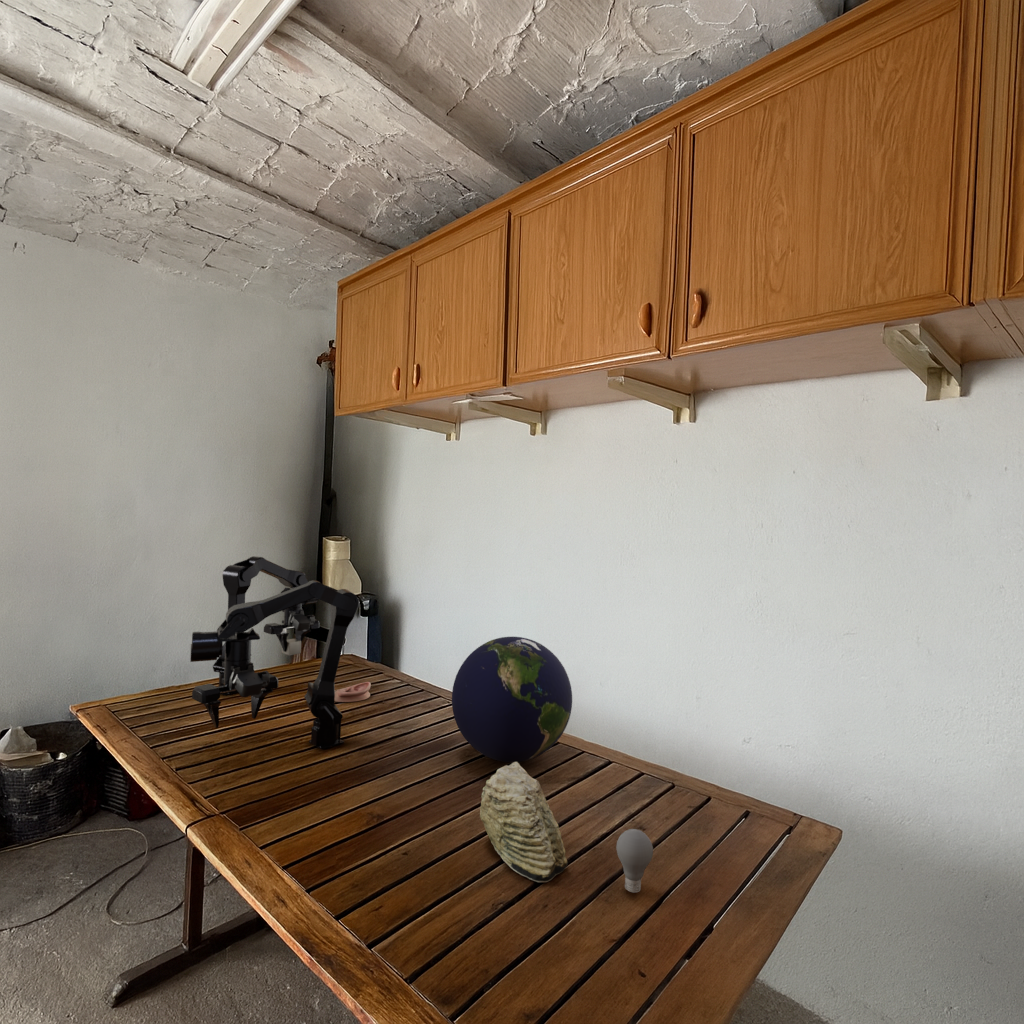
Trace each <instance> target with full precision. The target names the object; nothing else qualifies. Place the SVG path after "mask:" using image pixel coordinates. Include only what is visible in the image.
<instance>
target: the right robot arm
mask: <svg viewBox="0 0 1024 1024" xmlns="http://www.w3.org/2000/svg"><path fill="white" fill-rule="evenodd" d="M290 589H291V590H288V591H285V592H283V593H281V592H279V593H278V594H275V595H273V596H269V597H267V598H265V599H262V600H261V599H260V600H255V601H248V602H247V601H246V602H245V603H242V604H238V605H234V606H232V607H230V608H229V609H228V608H227V611H226V613H225V619H224V620H223V622H222V623H221V624H220V625H219V626H218V627H217V628H216V631H193V632H192V633H191V643H190V655H189V656H190V663H195V662H208V661H210V662H211V661H217V660H218V658H219V657H220V656H221V655H222V648H223V645H224V643H225V662H222V666H223V667H225V669H224V679H222V682H221V683H223V684H224V686H219V685H218V686H216V685H214V684H212V683H206V684H201V685H196V686H195V687H194V688H193V689H192V691H191V699H192V700H194V701H195V702H198V703H200V704H202V705H204V707H205V709H206V710H207V713H208V715H209V717H210V719H211V722H212V724H213V726H214V728H215V729H218V728H219V727H220V726H219V724H220V705H221V703H222V701H220V700H219V699H220V698H221V695H222V694H226V693H231V692H236V691H238V693H239V696H240V697H242V698H248V697H250V702H251V703H250V713H251V718H252V719H253V720H255V719H256V718H257V716H258V714H259V711H260V708H261V706H262V704H263V702H264V700H265V698H266V697H267V696H268V695H269V694H271V693H273V692H274V690H275V689H278V688H279V679H278V677H277V676H276V675H273V674H271V673H270V672H269V671H268V670H264V671H257V672H256V671H255V669H254V668H255V666H254V663H253V662H251V660H252V641H258V640H260V639H261V636H260V634H259V633H257V632H256V631H255V629H254V628H253V627H255V626H257V625H259V624H260V623H261V622H262V621H264V620H265V619H267V618H269V617H270V616H272V615H275V614H278V613H280V612H282V611H283V610H285V609H288V608H290V607H293V606H295V605H298V604H300V603H303V602H305V601H308V600H310V599H313V598H317V599H319V600H320V601H322V602H324V603H326V604H329V605H330V610H329V611H330V626H329V630H328V634H327V638H326V642H325V646H324V651H323V654H322V657H321V662H320V667H319V669H318V670H319V671H318V675H317V677H316V679H315V680H314V682H310V681H309V682H308V683H307V690H306V693H305V695H304V696H303V697H304V699H305V703H306V706H307V708H308V709H309V711H310V713H311V714H312V716H313V717H315V719H313V721H312V722H313V723H312V727H311V730H310V731H311V732H310V733H311V735H310V739H309V740H308V743H309V744H310V745H313V746H314V747H316V748H318V749H320V750H327V749H329V748H333V747H336V746H340V745H343V744H344V743H345V741H344V740H343V739H341V737H342V735H341V733H342V720H343V713H342V712H341V711H340V709H339V708H338V706H337V705H336V704H335V691H336V689H335V682H336V681H335V680H336V676H337V672H338V668H339V664H340V660H341V656H342V652H343V647H344V643H345V640H346V635H347V632H348V631H347V630H348V628H349V626H350V624H351V623H352V621H353V620H354V618H355V616H356V613H357V611H358V609H359V607H360V599H359V597H358V596H357V595H356V594H355V593H353V592H352V591H350V590H348V589H346V588H340V589H337V588H334V587H332V586H329V585H326V584H324V583H321V582H320V581H318V580H315V579H313V580H309V581H308V583H306V584H304V585H301V586H298V587H296V588H290ZM235 633H236V634H235ZM234 634H235V636H232V635H234ZM229 688H230V689H229Z"/></svg>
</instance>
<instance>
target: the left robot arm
mask: <svg viewBox="0 0 1024 1024" xmlns="http://www.w3.org/2000/svg"><path fill="white" fill-rule="evenodd" d="M260 573H264V574H266V575H268V576H270V577H273V578H275V579H276V580H278V582H279V583H280V584H281V585H282V586H284V588H283V590H281V591H280V593H283V592H285V591H288V590H291V589H293V588H296V587H298V586H301V585H304V584H306V583H308V582H309V581H308V579H307V577H306V573H305V572H304V571H299V570H294V569H287V568H285V567H284V566H281V565H278V564H276V563H274V562H272V561H270V560H268V559H266V558H265V557H263V556H251V557H248V558H247V559H244V560H242V561H238V562H235V563H234V564H229V565H228V566H226V567H225V568H224V569H223V570H222V582H223V586H224V589H225V590H226V592H227V599H228V600H227V610H228V609H229V608H230V607H232V606H234V605H238V604H242V603H246V594H247V592H248V591H249V589H250V587H251V583H252V579H254V578H255V577H257V576H258V575H259V574H260ZM319 600H320V599H317V598H313V599H310V600H308V601H305V602H303V603H300V604H298V605H295V606H293V607H290V608H288V609H285V610H283V611H281V612H282V613H283V619H282V620H281V624H280V623H277V622H271V623H266V624H265V625H264V626H263V633H266V634H269V635H275V636H276V638H277V640H278V641H279V644H280V646H281V649H282V648H283V651H284V652H286V649H287V640H288V637H289V635H290V633H288V632H287V631H288V630H293V629H295V630H294V632H295V639H297V640H300V641H301V644H302V643H303V640H304V638H305V636H306V635H307V634H308V633H310V632H311V631H312V630H315V629H320V621H319V620H318V619H316V616H315V615H314V614H309V615H305V610H304V609H303V608H302V607H303V606H304V605H310V604H316V603H317V602H318V601H319ZM235 634H236V633H235ZM235 634H234V635H232V636H235ZM222 662H225V642H223V648H222V655H221V656H220V657H218V658H217V660H215V662H214V664H213V665H212V669H213V672H214V673H218V687H219V686H224V684H223V683H221V682H222V679H224V669H225V667H223V666H222ZM229 689H230V688H229ZM238 693H239V692H238V691H236V692H231V693H226V694H221V695H222V696H230V695H233V694H238Z"/></svg>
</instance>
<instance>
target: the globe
mask: <svg viewBox="0 0 1024 1024" xmlns="http://www.w3.org/2000/svg"><path fill="white" fill-rule="evenodd" d="M568 675H569V674H568V673H567V671H566V669H565V667H564V665H563V663H562V662H561V661H560V659H559V658H558V657H557V656H556V655H555V654H554V652H553V651H551V650H550V649H549V648H547V647H546V646H545V645H543V644H542V643H539V642H538V641H536V640H533V639H531V638H527V637H522V636H502V637H497V638H494V639H491V640H488V641H487V642H484V643H483V644H481V645H479V646H478V647H476V648H475V649H474V650H473V651H471V653H470V654H469V655H468V656H467V657H466V658H465V660H464V661H463V662H462V664H461V665H460V667H459V669H458V671H457V672H456V676H455V679H454V681H453V686H452V691H451V707H452V712H453V714H452V715H453V717H454V721H455V723H456V726H457V728H458V730H459V732H460V734H461V735H462V737H463V738H464V740H465V741H466V742H467V743H468V744H469V746H470V747H472V748H473V749H474V750H476V751H477V752H478V753H480V754H481V755H483V756H484V757H487V758H489V759H492V760H495V761H498V762H504V763H514V762H518V763H522V762H526V761H530V760H532V759H535V758H537V757H540V756H541V755H543V754H544V753H546V752H548V750H550V749H551V748H552V747H554V745H556V743H557V742H558V741H559V739H560V738H561V737H562V736H563V734H564V732H565V730H566V728H567V726H568V724H569V721H570V718H571V714H572V709H573V691H572V684H571V681H570V678H569V676H568Z"/></svg>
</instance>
